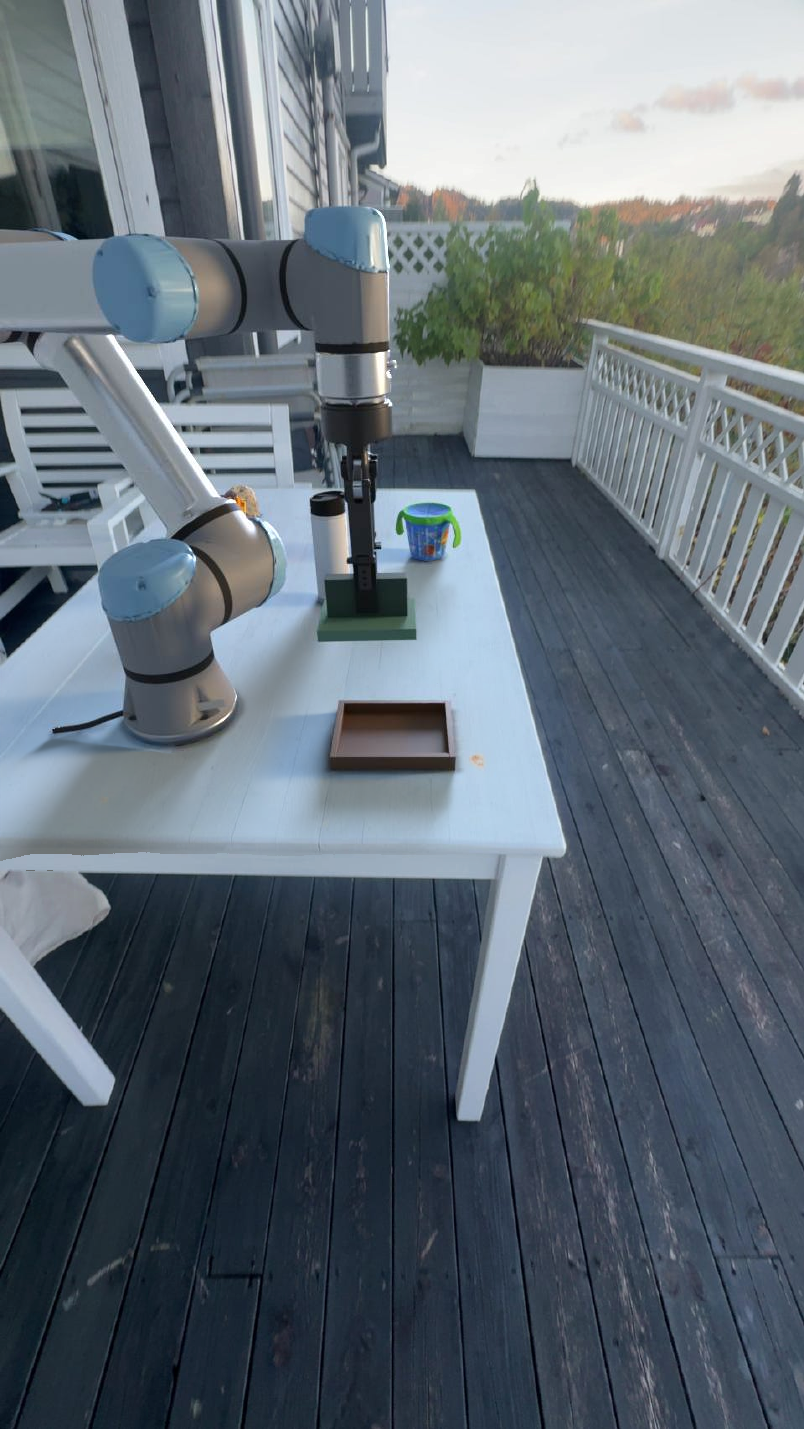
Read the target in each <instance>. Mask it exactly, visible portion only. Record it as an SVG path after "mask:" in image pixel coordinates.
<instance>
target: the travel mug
mask: <svg viewBox="0 0 804 1429" xmlns="http://www.w3.org/2000/svg"><path fill="white" fill-rule="evenodd" d="M309 507H310V508H309V510H310V512H309V513H310V524H311V525H310V526H311V535H312V546H313V555H314V556H313V557H314V565H315V566H314V567H315V576H316V577H315V578H316V588H317V597H318V601H319V602H320V603H321V604H323V603H324V600H326V594H325V583H324V580H325V576H326V574H351V571H350V570H351V569H350V564H347V557H350V554H349V553H350V552H349V540H348V538H349V537H348V524H347V521H348V520H347V509H346V501H345V494H344V490H327V491H321V492H318V493H315V494H314V495H312V497H310V498H309Z"/></svg>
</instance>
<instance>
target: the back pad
mask: <svg viewBox="0 0 804 1429" xmlns="http://www.w3.org/2000/svg"><path fill="white" fill-rule="evenodd" d="M376 575H377V596H378V613H356V605H355V590H354V575H353V573H350V574H326V576H325V580H324V583H325V594H326V600H324V603H322V606H321V612H320V615H319V621H318V625H317V629H316V634H317V635H316V636H317V642H318V643H331V642H332V643H333V642H374V641H375V642H377V641H379V642H381V641H383V642H384V641H417V614H416V613H417V612H416V598H415V597H408V572H405V571H404V572H403V571H402V572H377V573H376Z"/></svg>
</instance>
